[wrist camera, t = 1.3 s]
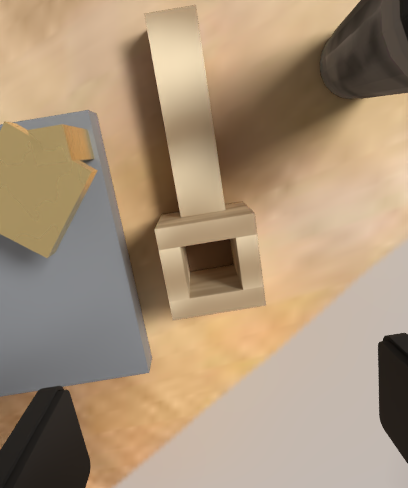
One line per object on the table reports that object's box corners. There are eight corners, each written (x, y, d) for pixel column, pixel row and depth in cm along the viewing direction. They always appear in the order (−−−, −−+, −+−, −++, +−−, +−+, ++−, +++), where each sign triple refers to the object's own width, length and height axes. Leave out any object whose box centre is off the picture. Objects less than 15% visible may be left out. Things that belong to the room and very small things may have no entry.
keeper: (62, 111, 23) (15, 96, 17) (126, 149, 24) (103, 148, 18) (20, 199, 25) (-37, 215, 18) (82, 232, 25) (47, 258, 19)
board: (-122, 149, 23) (-150, 149, 21) (96, 113, 23) (88, 110, 21) (-29, 386, 28) (-45, 403, 26) (152, 357, 28) (149, 372, 26)
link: (126, 32, 22) (107, -2, 17) (218, 16, 22) (226, -22, 17) (176, 290, 27) (172, 320, 22) (252, 277, 27) (266, 305, 22)
